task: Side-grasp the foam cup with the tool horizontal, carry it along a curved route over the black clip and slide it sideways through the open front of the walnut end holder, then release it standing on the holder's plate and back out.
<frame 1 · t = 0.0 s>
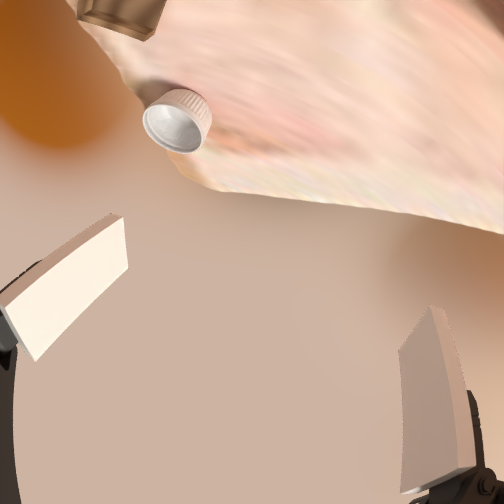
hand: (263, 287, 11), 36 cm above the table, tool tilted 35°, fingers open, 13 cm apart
ramekin: (188, 107, 49), on the table
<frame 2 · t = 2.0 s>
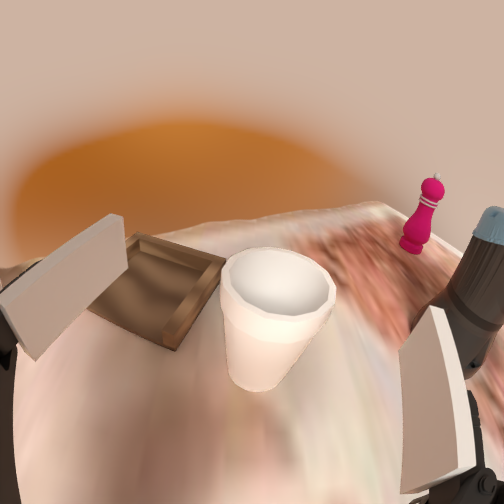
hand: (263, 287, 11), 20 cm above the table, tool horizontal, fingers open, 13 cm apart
foam cup: (255, 369, 29), on the table
pepper mill: (409, 248, 61), on the table
end holder: (151, 289, 37), on the table
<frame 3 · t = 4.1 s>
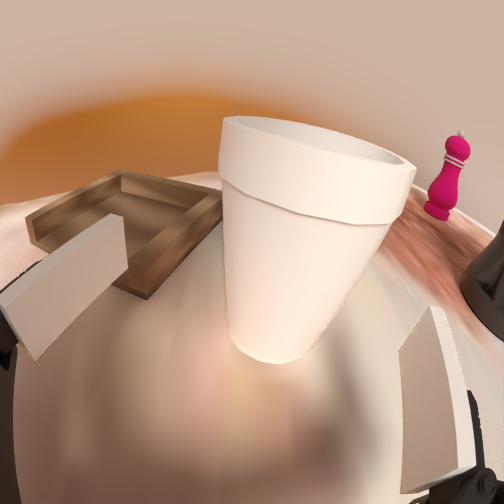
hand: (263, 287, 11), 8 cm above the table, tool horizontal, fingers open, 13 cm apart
foam cup: (271, 329, 19), on the table
pepper mill: (435, 215, 51), on the table
end holder: (128, 227, 27), on the table
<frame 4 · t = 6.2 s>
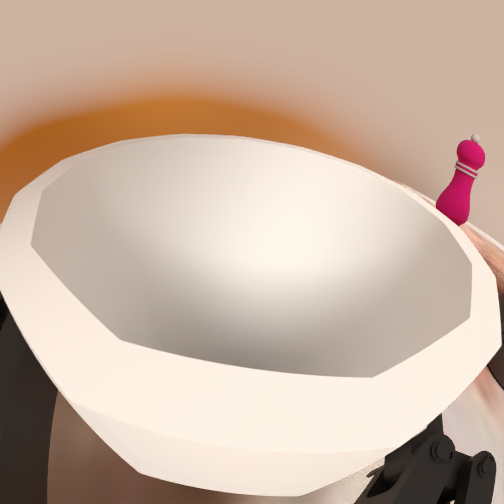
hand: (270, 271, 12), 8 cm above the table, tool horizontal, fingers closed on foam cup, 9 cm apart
foam cup: (220, 436, 12), on the table, touching gripper
pepper mill: (443, 230, 44), on the table
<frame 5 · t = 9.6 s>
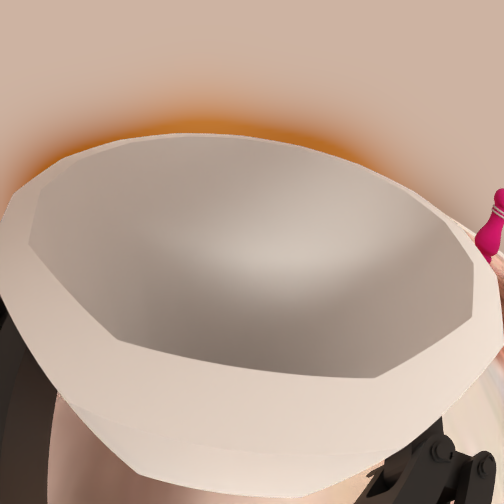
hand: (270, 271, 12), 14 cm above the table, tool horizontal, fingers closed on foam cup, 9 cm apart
foam cup: (220, 436, 12), point 6 cm above the table, touching gripper
pepper mill: (478, 259, 50), on the table
when the fingers open (10 cm above the table, at t = 12.9 s): foam cup drops 2 cm, resting on end holder.
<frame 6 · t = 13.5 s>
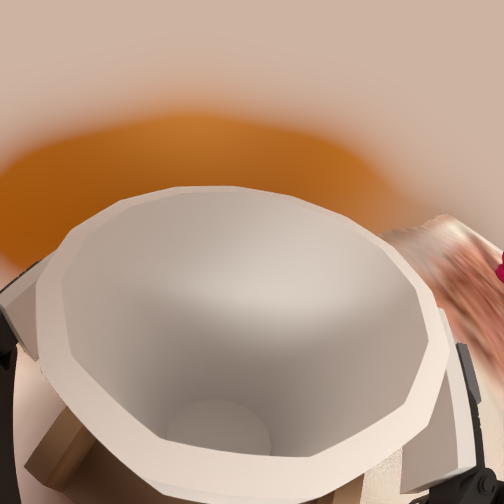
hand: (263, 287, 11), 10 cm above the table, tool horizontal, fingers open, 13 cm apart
foam cup: (217, 446, 13), resting on end holder
end holder: (217, 446, 13), on the table
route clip: (423, 395, 17), on the table
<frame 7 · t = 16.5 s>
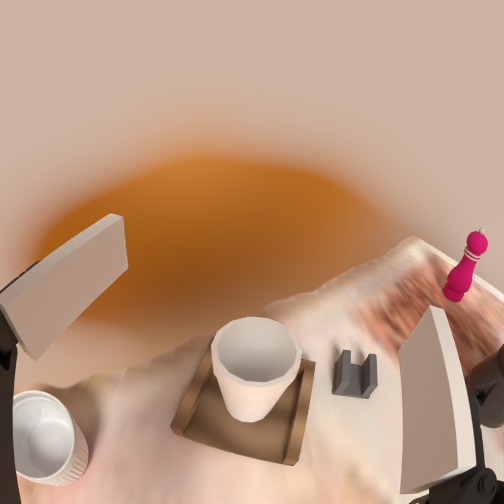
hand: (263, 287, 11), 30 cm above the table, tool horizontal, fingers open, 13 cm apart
foam cup: (248, 403, 35), resting on end holder
pepper mill: (451, 295, 58), on the table
end holder: (248, 404, 35), on the table
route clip: (351, 381, 39), on the table
ramekin: (57, 451, 23), on the table
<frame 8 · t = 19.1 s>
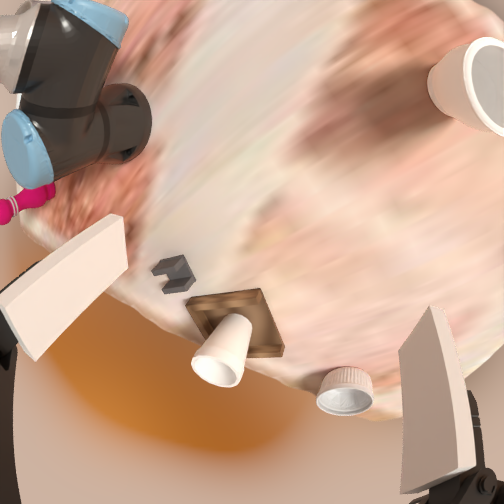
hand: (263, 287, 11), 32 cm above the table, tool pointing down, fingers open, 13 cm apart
foam cup: (238, 324, 57), resting on end holder
pepper mill: (49, 186, 56), on the table
pillar candle: (68, 21, 33), on the table
jar: (451, 89, 26), on the table
end holder: (238, 322, 58), on the table
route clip: (178, 269, 55), on the table
ramekin: (347, 378, 58), on the table
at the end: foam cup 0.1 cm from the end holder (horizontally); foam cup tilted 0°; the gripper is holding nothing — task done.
